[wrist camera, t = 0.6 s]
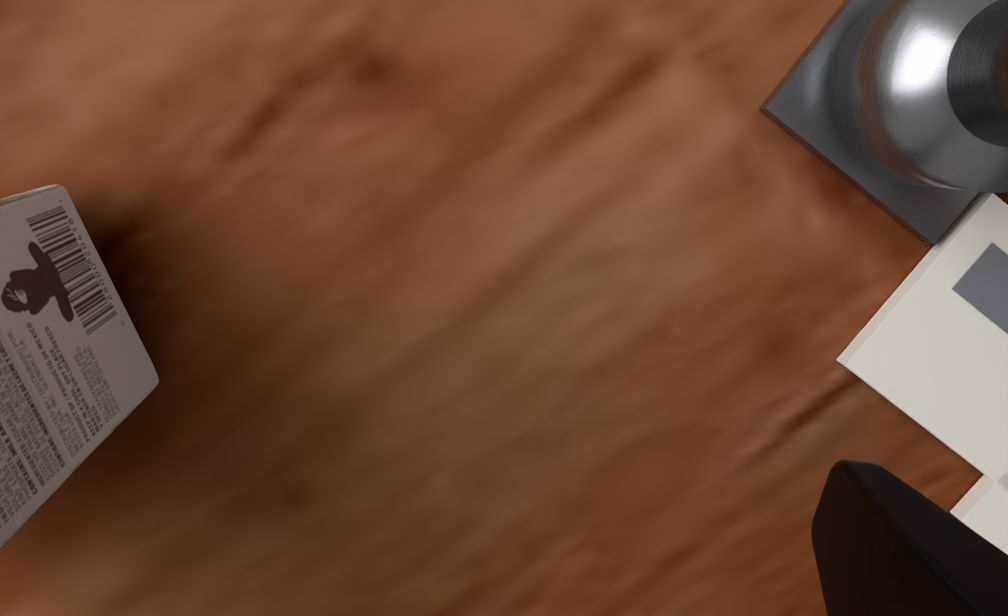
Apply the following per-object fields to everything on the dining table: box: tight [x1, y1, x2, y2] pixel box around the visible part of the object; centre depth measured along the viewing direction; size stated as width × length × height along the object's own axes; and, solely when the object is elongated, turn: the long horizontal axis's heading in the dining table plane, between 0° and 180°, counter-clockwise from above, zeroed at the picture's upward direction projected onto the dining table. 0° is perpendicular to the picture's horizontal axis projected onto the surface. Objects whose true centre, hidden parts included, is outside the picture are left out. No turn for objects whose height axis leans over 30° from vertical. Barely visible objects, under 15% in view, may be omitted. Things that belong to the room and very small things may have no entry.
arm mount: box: [759, 0, 1008, 244], centre depth 20 cm, size 6×6×4 cm
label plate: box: [836, 192, 1008, 492], centre depth 23 cm, size 6×7×1 cm
